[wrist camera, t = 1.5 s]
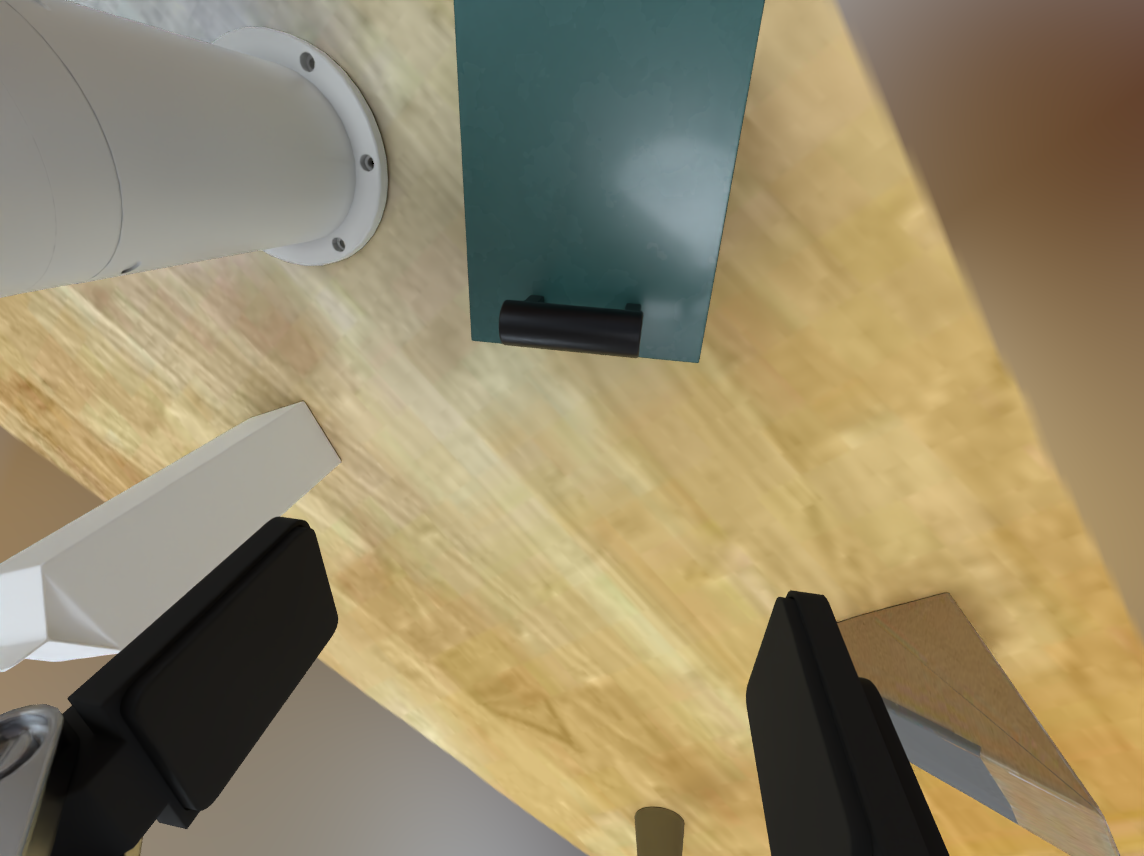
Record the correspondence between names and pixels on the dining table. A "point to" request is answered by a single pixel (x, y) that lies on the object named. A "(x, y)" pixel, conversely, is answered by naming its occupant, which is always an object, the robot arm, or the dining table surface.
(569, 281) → the lid
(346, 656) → the dining table surface
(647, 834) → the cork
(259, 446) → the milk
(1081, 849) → the sandwich container
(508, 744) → the dining table surface
